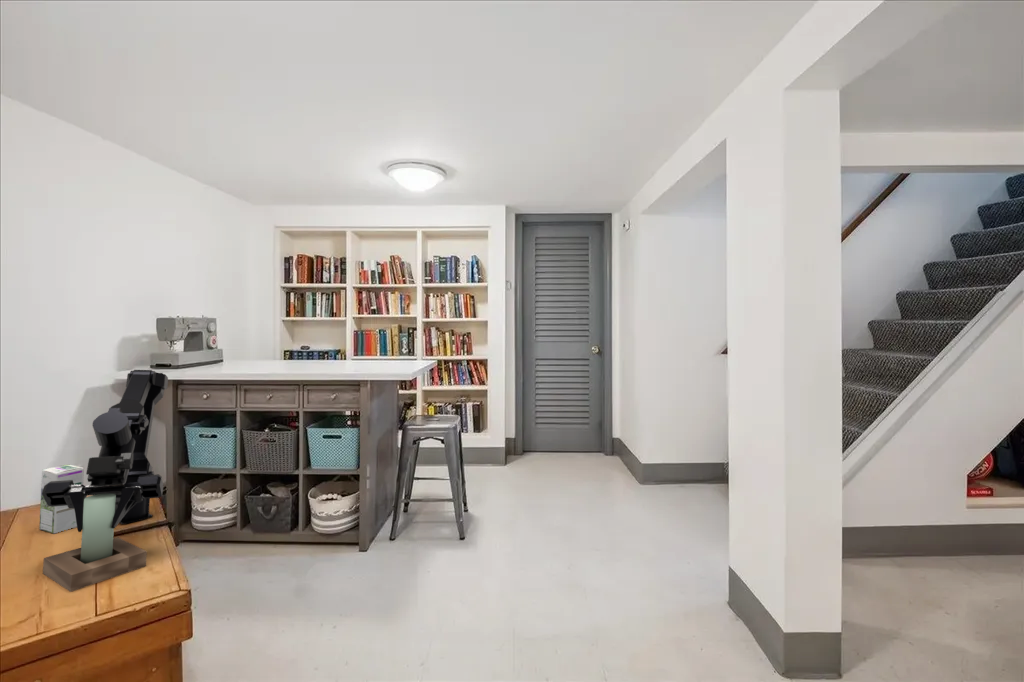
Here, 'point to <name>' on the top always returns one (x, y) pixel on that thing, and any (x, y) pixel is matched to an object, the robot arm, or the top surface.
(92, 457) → the robot arm
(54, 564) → the pocket block
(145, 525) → the top surface
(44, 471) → the syrup box
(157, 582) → the top surface
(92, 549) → the peg
